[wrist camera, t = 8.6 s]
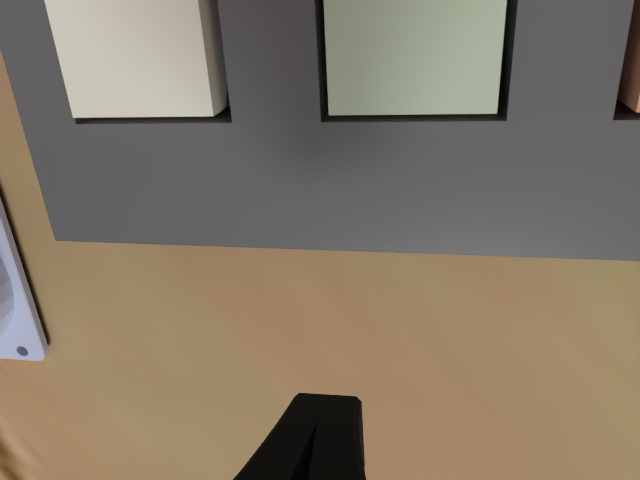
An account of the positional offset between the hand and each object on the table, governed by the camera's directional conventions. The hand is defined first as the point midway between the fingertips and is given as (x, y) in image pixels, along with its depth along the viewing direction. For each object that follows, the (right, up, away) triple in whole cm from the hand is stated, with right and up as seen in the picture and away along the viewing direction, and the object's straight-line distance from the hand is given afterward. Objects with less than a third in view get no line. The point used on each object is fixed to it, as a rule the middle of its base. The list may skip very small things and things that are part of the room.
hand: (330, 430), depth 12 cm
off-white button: (-5, +10, +5) cm, 12 cm away
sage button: (+2, +10, +3) cm, 11 cm away
